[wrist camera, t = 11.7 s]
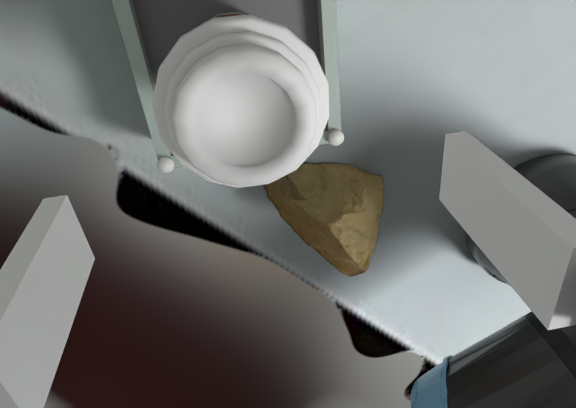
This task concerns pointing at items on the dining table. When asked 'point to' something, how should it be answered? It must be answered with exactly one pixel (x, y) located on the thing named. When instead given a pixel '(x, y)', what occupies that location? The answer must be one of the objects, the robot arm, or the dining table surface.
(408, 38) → the dining table surface
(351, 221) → the rock
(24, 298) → the robot arm
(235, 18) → the coffee cup
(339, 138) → the pale green square tray
